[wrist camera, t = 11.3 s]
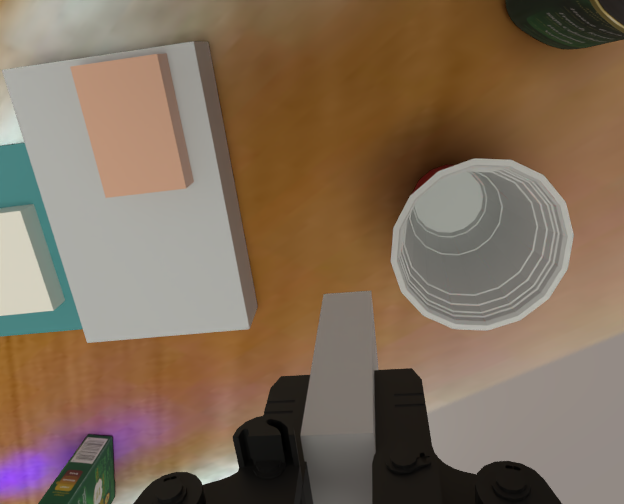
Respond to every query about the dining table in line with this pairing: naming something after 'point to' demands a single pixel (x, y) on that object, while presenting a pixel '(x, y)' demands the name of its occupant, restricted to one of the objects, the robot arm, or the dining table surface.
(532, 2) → the coffee jar
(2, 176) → the mat
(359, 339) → the robot arm
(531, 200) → the plastic cup
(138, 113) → the salmon pink block
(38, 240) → the cream rectangular block
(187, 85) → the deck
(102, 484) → the coffee box
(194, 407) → the dining table surface
